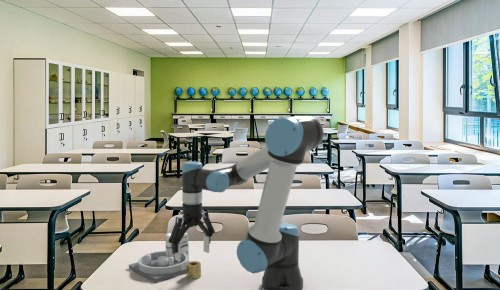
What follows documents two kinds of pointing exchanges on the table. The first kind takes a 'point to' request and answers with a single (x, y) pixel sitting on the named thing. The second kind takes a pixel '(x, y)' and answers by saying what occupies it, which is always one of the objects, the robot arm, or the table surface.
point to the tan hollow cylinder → (193, 269)
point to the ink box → (183, 243)
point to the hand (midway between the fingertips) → (192, 256)
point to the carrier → (159, 266)
